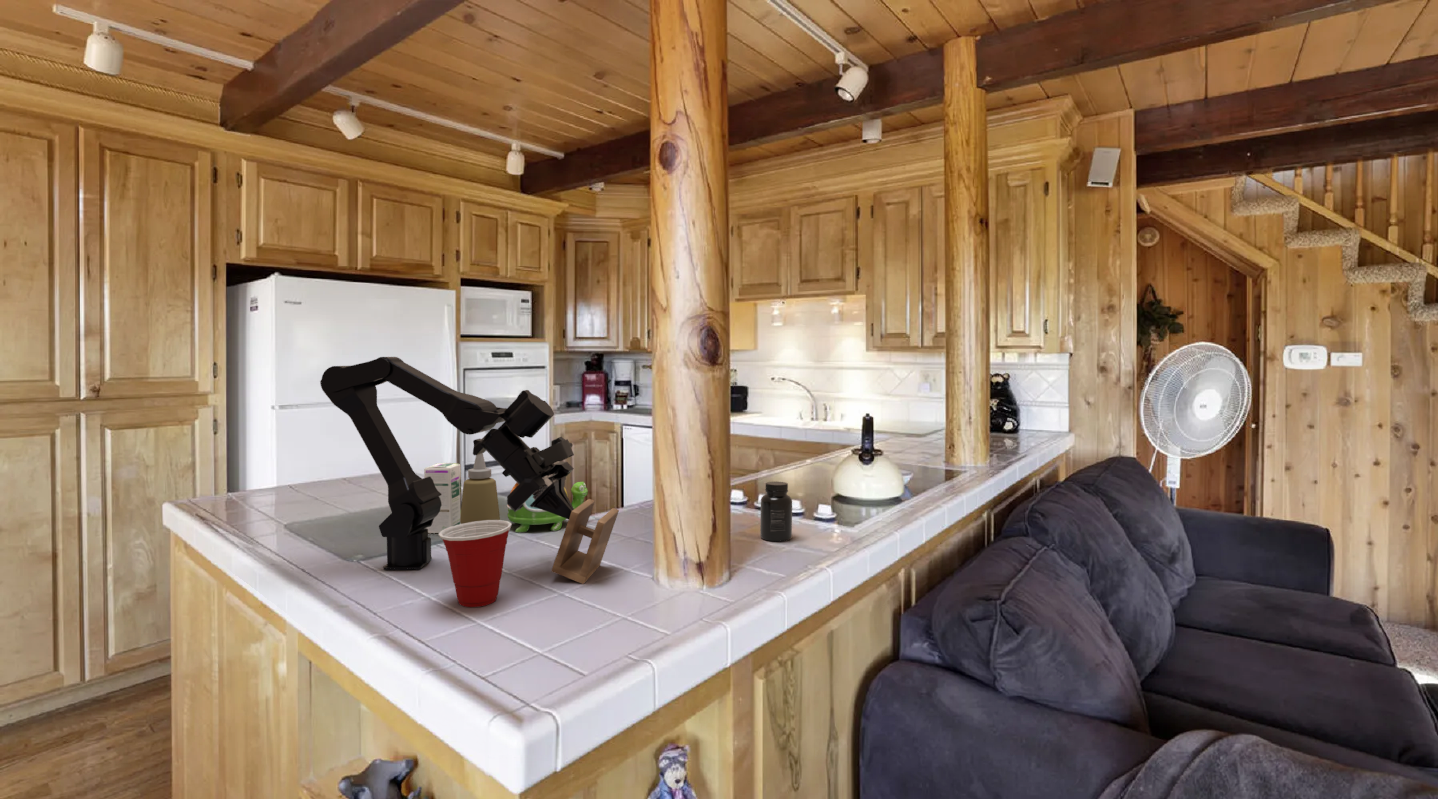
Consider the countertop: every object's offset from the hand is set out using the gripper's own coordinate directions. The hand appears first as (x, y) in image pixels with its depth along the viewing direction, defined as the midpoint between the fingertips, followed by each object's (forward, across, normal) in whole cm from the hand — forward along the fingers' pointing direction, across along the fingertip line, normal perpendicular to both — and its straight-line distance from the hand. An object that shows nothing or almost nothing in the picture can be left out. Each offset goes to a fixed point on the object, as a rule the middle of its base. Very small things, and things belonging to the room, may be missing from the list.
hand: (575, 518), depth 120 cm
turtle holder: (-5, +31, +19) cm, 37 cm away
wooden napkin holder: (+6, 0, +6) cm, 9 cm away
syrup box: (-19, +23, +33) cm, 45 cm away
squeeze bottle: (-12, +20, +26) cm, 35 cm away
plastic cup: (-1, -15, +15) cm, 21 cm away
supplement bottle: (+32, +29, -17) cm, 47 cm away
